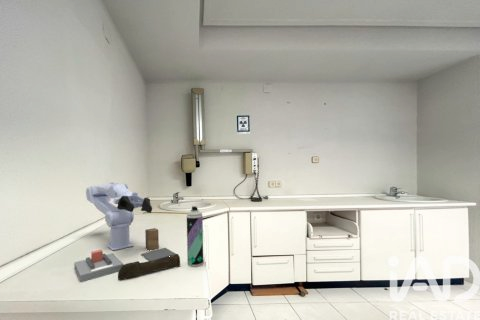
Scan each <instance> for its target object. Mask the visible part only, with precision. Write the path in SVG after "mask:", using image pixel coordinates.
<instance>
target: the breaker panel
mask: <svg viewBox="0 0 480 320" xmlns="http://www.w3.org/2000/svg"><path fill="white" fill-rule="evenodd" d="M73 265H74V271H75V273H76V275H77V277H78V280H79V282H80V283H83V282H87V281H90V280H93V279H97V278H100V277H103V276H107V275H110V274H115V273H117V272H119V271H120V268H121V267H122V266H123V265H124V263H123V262H122V260H120V259H119V258H118V257H117V256H116V255H115V254H114V252H113V253H112V252H111V253H107V254H106V253H103V261H99V262H95V263H93V262H92V260H91V257H90V256H89V257H85V259H83V260H78V261H75V262H74V264H73Z"/></svg>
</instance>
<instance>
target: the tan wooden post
mask: <svg viewBox="0 0 480 320" xmlns="http://www.w3.org/2000/svg"><path fill="white" fill-rule="evenodd" d="M144 233H145V250H147V251H148V250H149V251H148V252H150V250H152V251H154V250H155V249H156V250H158V249H160V248H159V247H160V245H159V241H160V240H159V229H158V228H155V227H154V228H152V227H151V228H147V229H145V232H144Z"/></svg>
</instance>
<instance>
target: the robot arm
mask: <svg viewBox="0 0 480 320" xmlns="http://www.w3.org/2000/svg"><path fill="white" fill-rule="evenodd" d="M85 195H86V201H88V202H90V203H92V204H93V205H94V206H95V207H96V209H97V210H98V211H99V212H101V213H102V214H104V215H105V216H104V221H105V223H106V225H107V227H109V228H110V230H109V244H107V246H108V248H109V249H111V251H119V250H121V249H126V248H131V247H133V246H134V245H133V244H132V243H131V242H130V226H131V224H132V223H133V221H134V218H135V217H134V216H135V215H134V209H137V208H141V209H140V211H141V212H147V213H149V214H151V213H152V211H153V207H152V205H151V198H148V197H144V198H142V197H141V196H138V192H136V191H135V192H133V191H130V189H129V187H128V185H127V184H126V183H122V184H121V183H120V184H119V183H117V182H116V183H115V182H109V183H108V184H101V185H98V184H97V185H92V186H88V187H87V188H86V190H85ZM111 199H113V201H112V203H113V204H112V203H111ZM114 204H115V205H114ZM116 205H117V206H116Z"/></svg>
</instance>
